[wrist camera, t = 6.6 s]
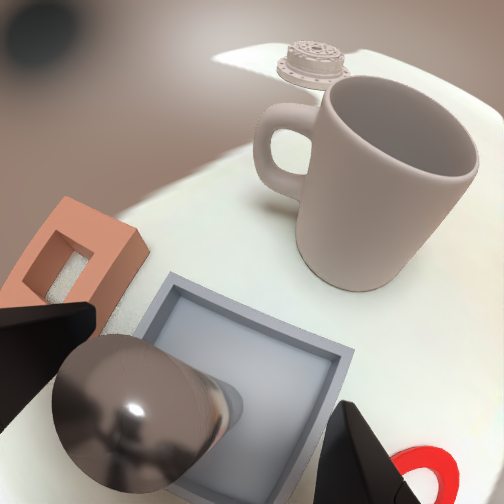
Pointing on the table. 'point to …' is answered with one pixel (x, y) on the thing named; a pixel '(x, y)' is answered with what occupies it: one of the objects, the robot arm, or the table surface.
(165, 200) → the table surface
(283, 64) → the mechanical component
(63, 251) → the block
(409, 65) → the table surface
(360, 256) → the mug
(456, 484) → the tow hook
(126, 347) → the pin
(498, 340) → the table surface
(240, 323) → the tray
